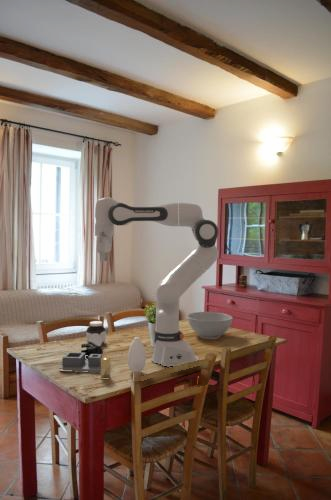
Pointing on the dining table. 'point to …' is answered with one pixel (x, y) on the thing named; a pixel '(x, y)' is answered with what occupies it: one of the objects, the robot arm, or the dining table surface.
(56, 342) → the dining table surface
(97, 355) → the socket block
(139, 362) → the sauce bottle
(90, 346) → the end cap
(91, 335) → the spread jar
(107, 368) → the pipe nipple
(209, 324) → the decorative bowl
